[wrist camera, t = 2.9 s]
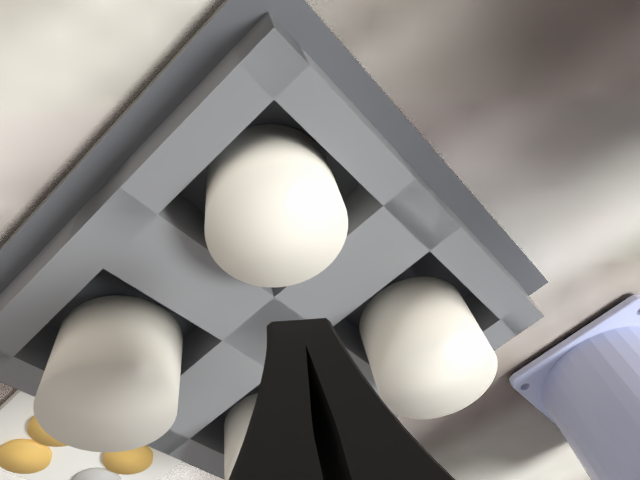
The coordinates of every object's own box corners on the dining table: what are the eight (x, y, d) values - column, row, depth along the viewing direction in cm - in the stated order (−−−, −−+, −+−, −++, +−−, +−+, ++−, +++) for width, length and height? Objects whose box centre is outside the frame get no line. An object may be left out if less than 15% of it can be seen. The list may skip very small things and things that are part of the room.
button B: (341, 415, 24) (356, 480, 22) (273, 463, 25) (279, 530, 23) (273, 374, 22) (280, 440, 19) (203, 429, 23) (201, 498, 21)
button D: (207, 334, 20) (205, 401, 18) (134, 396, 21) (122, 467, 19) (108, 274, 18) (88, 341, 15) (33, 347, 19) (4, 420, 17)
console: (539, 271, 25) (575, 314, 22) (269, 464, 30) (274, 516, 27) (265, -45, 16) (274, -32, 13) (-55, 308, 21) (-92, 364, 18)
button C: (355, 180, 19) (376, 226, 17) (270, 254, 20) (277, 308, 18) (269, 97, 17) (278, 135, 14) (179, 185, 18) (173, 235, 16)
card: (189, 449, 28) (188, 460, 27) (118, 504, 30) (117, 515, 29) (30, 377, 23) (26, 388, 23) (-43, 446, 25) (-49, 458, 25)
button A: (483, 314, 22) (518, 372, 19) (401, 372, 23) (425, 434, 21) (423, 257, 20) (454, 314, 17) (337, 325, 21) (354, 387, 18)
